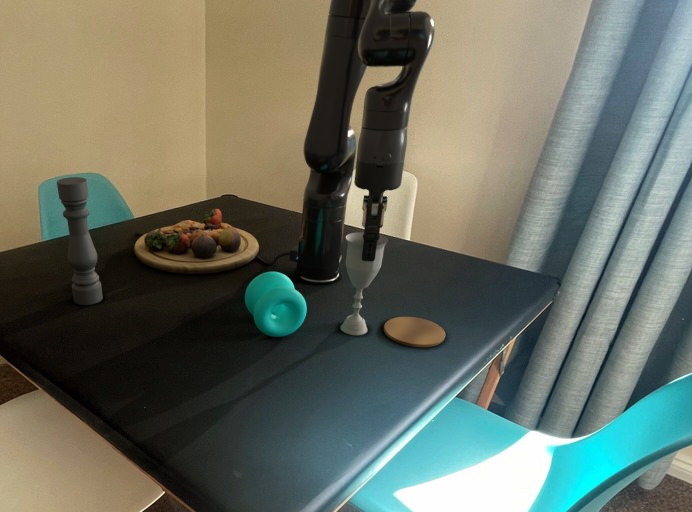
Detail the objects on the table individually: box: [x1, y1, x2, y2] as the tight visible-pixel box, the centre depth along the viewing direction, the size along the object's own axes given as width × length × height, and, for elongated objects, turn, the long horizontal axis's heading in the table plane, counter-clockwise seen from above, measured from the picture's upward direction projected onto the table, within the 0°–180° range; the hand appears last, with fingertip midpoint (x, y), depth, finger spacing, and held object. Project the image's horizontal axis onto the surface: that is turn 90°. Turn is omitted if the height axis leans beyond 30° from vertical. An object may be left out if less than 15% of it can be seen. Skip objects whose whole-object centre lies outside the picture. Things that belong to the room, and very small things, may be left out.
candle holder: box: [56, 176, 104, 306], centre depth 113 cm, size 6×6×25 cm
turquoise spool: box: [244, 271, 308, 338], centre depth 105 cm, size 10×10×10 cm
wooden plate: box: [133, 208, 260, 275], centre depth 140 cm, size 32×32×8 cm
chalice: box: [340, 231, 389, 336], centre depth 102 cm, size 7×7×18 cm
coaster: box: [383, 316, 446, 348], centre depth 105 cm, size 11×11×1 cm
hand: (368, 251), depth 98 cm, fingers open, 8 cm apart
